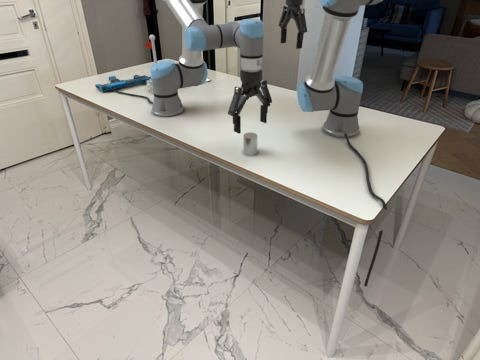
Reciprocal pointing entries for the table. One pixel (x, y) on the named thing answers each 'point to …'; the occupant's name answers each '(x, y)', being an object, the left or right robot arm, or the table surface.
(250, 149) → the canister
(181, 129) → the table surface
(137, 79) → the submachine gun
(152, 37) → the flag stand
